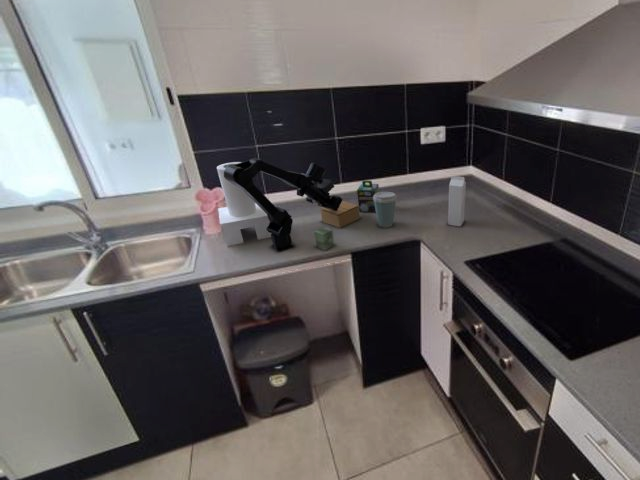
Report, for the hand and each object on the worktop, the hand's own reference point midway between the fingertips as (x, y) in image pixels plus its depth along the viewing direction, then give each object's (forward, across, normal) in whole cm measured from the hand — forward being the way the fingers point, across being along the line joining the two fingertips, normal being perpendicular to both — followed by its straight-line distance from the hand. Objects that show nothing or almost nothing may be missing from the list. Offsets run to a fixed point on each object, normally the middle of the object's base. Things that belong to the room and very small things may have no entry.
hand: (335, 208), depth 173 cm
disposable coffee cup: (+13, -21, -3) cm, 25 cm away
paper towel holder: (-17, +24, +27) cm, 39 cm away
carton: (+7, 0, +3) cm, 7 cm away
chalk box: (+20, -1, -10) cm, 22 cm away
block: (-9, -14, +19) cm, 25 cm away
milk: (+27, -46, -17) cm, 56 cm away
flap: (0, 0, +1) cm, 1 cm away
